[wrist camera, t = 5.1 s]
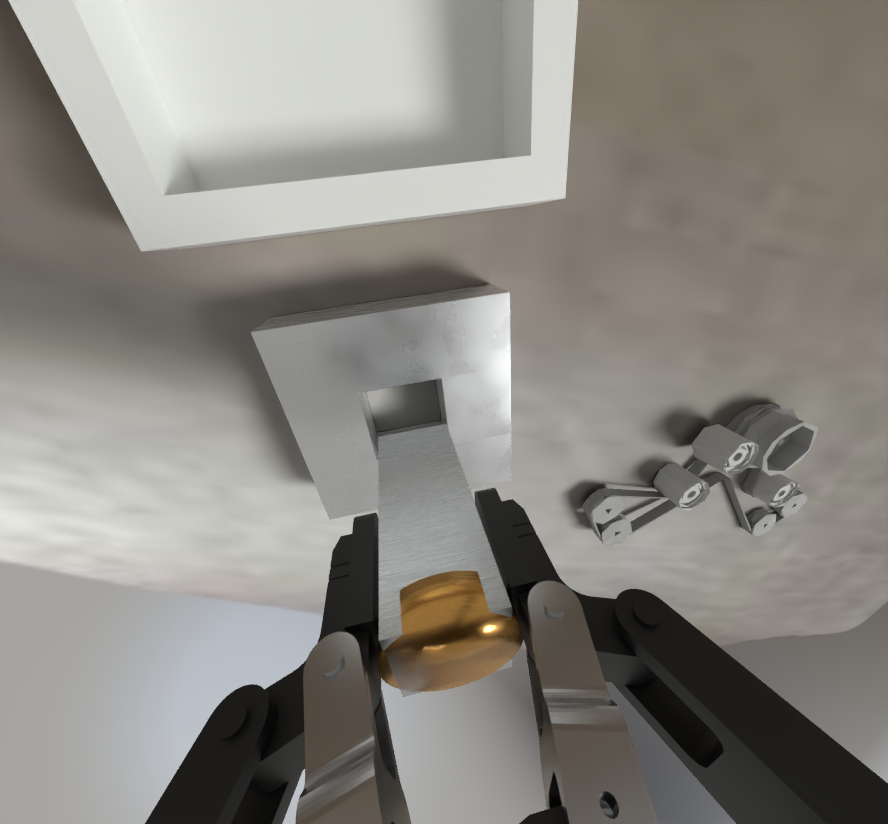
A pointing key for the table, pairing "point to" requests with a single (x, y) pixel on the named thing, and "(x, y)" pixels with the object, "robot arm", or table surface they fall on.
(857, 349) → the table surface
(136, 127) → the parts tray
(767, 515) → the pulley system
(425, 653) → the lock pin
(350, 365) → the block
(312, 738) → the robot arm
